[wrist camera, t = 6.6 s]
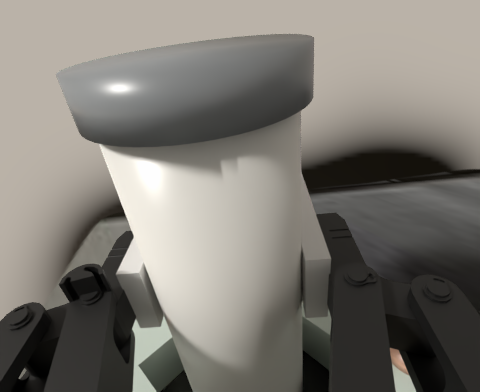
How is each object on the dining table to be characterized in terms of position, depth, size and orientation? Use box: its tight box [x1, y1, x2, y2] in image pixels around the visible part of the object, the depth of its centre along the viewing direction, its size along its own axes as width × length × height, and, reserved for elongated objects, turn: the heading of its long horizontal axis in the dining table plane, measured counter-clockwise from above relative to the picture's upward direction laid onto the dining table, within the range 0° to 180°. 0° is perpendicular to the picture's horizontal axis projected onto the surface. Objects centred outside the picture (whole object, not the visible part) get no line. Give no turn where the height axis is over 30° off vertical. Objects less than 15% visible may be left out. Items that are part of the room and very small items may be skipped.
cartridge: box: [56, 34, 314, 392], centre depth 11 cm, size 6×6×16 cm
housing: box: [132, 302, 416, 392], centre depth 15 cm, size 14×14×4 cm
